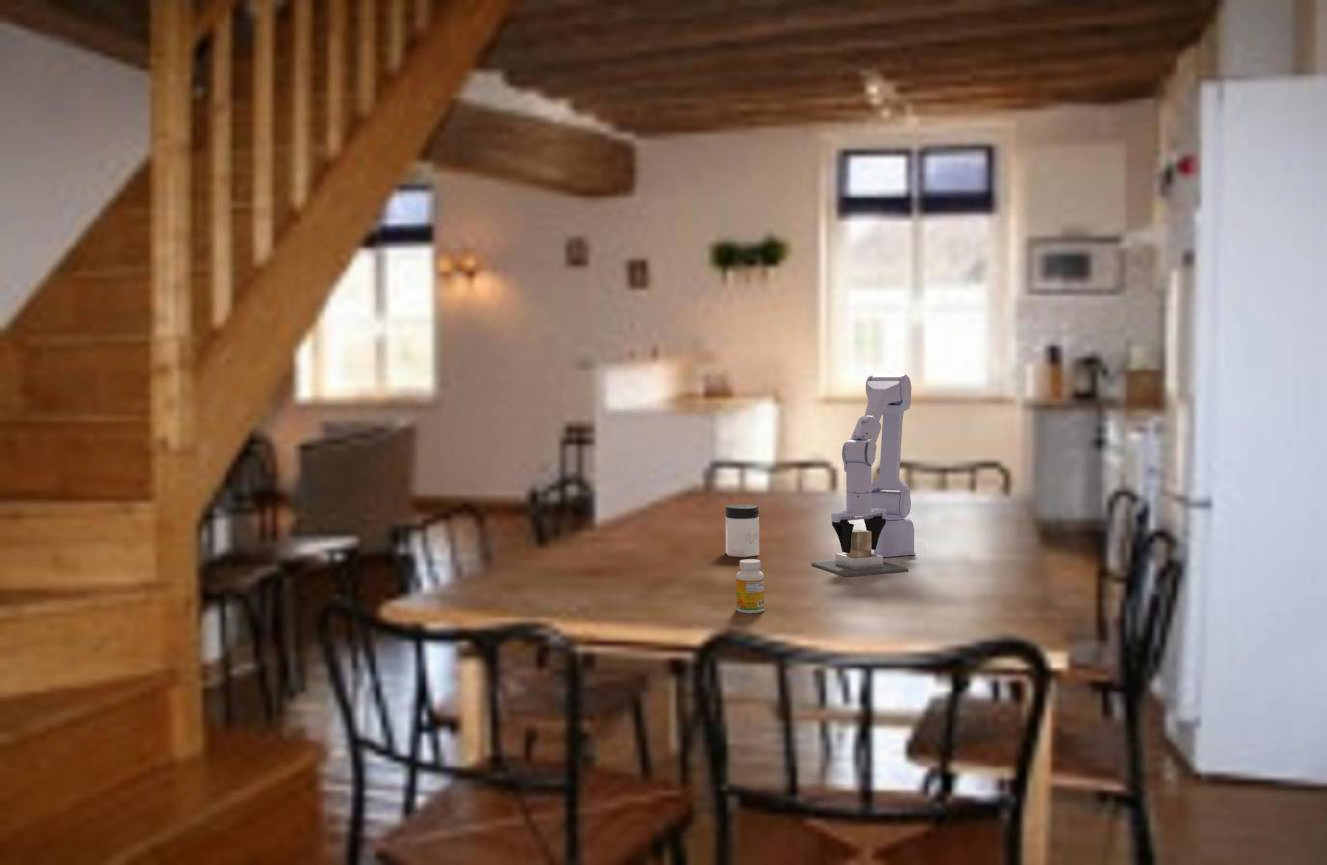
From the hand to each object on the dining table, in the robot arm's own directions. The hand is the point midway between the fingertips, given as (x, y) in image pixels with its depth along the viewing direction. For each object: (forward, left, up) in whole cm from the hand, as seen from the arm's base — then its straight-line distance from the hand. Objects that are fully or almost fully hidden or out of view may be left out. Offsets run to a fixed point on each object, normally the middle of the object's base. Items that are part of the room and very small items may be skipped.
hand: (859, 550), depth 268 cm
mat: (0, 0, -4) cm, 4 cm away
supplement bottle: (+42, +30, -4) cm, 52 cm away
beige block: (0, 0, -3) cm, 3 cm away
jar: (+16, -29, -4) cm, 33 cm away
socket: (0, 0, -4) cm, 4 cm away
